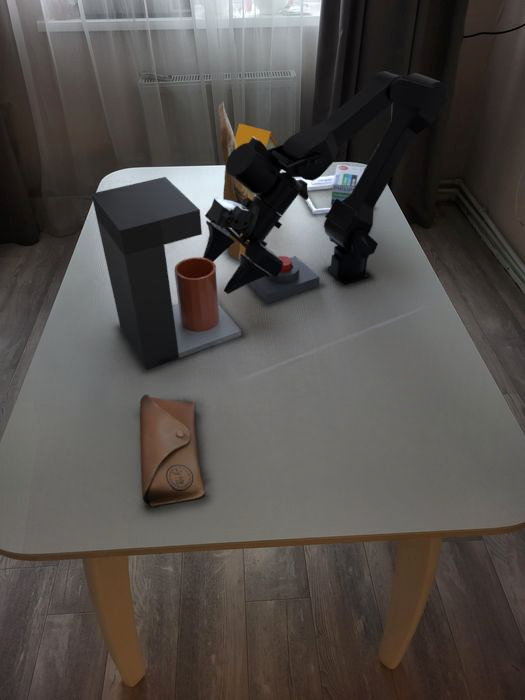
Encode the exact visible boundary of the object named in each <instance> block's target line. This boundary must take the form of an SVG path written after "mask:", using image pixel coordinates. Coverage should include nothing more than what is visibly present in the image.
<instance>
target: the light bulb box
mask: <svg viewBox="0 0 525 700" xmlns="http://www.w3.org/2000/svg"><path fill="white" fill-rule="evenodd" d="M365 168H366V167H363V166H353V165H344V164H337V165H336V168H335V172H334V175H335V176H334V175H333V176H334V180H333V186H332V188H331V200H330V208H331V207H332V205H333V202H334V201H335V200H336V199H339V200H340V201H342V200H344V199H345V198H347V197H348V196H350V195H351V193H352V191H353V190H354V188H355V186H356V184H357V183H358V181H359V179H360V177H361V175H362V174H363V172H364V170H365Z"/></svg>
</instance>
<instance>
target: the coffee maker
mask: <svg viewBox="0 0 525 700" xmlns="http://www.w3.org/2000/svg"><path fill="white" fill-rule="evenodd" d="M91 198H92V203H93V207H94V212H95V217H96V221H97V225H98V230H99V231H98V232H99V235H100V239H101V244H102V249H103V253H104V254H103V255H104V259H105V263H106V268H107V273H108V277H109V281H110V286H111V291H112V295H113V299H114V304H115V309H116V312H117V313H116V314H117V318H118V322H119V327H120V329H121V331H122V333H123V334H124V336H125V338H126V339H127V341H128V343H129V345H130V346H131V347H132V349H133V351H134V352H135V354H136V356H137V357H138V360H139V362H141V364H142V366H143V368H144V369H145V371H148V370H151V369H154V368H156V367H158V366H161V365H164V364H167V363H170V362H172V361H176V360H178V359H181V358H183V357H186V356H189V355H192V354H195V353H198V352H200V351H203V350H206V349H208V348H211V347H213V346H216V345H219V344H222V343H225V342H228V341H230V340H233V339H235V338H240V337H241V336H242V330H241V329H240V327H239V326H238V325H237V324H236V322H234V320H233V319H232V318H231V317H230V316H229V315H228V314H227V312H226V311H225V310H224V309H223V308H222V307H221V306H220V304H219V322H218V324H217V325H216V326H215V327H213V328H212V329H209V330H206V331H200V332H197V331H191V330H188V329H186V328H185V327H184V326H183V325H182V323H181V320H180V312H179V304H178V303H176V304H173V300H172V299H173V298H172V293H171V284H170V277H169V270H168V262H167V255H166V248H165V245H169V244H172V243H176V242H179V241H184V240H187V239H190V238H193V237H197V236H201V235H203V230H202V229H203V228H202V220H201V219H202V217H201V209H200V208H199V207H198V206H197V205H196V204H195V203H194V202H192V201H191V200H190V199H189V198H188V197H187V196H186V195H185V194H184V193H183V192H182V191H181V190H180V189H179V188H178V187H177V186H175V184H173V182H172V181H171V180H170V179H168V178H167V177H166V176H162V177H158V178H154V179H150V180H144V181H141V182H136V183H132V184H128V185H123V186H119V187H114V188H110V189H105V190H101V191H96V192H92V193H91Z"/></svg>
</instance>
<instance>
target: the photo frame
mask: <svg viewBox="0 0 525 700" xmlns="http://www.w3.org/2000/svg"><path fill="white" fill-rule="evenodd" d="M334 176H335V174H334V175H324V176H320V177H319V178H317V179H316V180H313V181H311V180H305V179H303V178H302V177H301V179H302V180H303V181H305V182H306V183H307V184H308V185H307V191H317V190H328V189H332V186H333V180H334ZM295 179H296V180H298V179H299V178H295ZM305 202H306V203H307V205H308V207H309V209H310V210H311V212H312V214H313V215H318V214H319V215H320V214H328V212H329V211H330V209H331V207H323V208H316V207H315V205H314V203H313V202H312V200H311V199H310V197H309V196H308V199H307V200H305Z"/></svg>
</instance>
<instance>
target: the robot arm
mask: <svg viewBox="0 0 525 700" xmlns="http://www.w3.org/2000/svg"><path fill="white" fill-rule="evenodd" d="M447 102H448V89H447V86H446V84H445V83H444V82H442V81H440V80H437V79H434V78H431V77H429V76H427V75H423V74H420V73H418V72H414V73H410V74H409V75H406V76H403V75H399V74H395V73H392V72H389V71H386V70H385V71H384V70H383V71H379V72H378V73H376V74H375V75H374V76H373V78H372V80H371V81H370V82H369V83H368V84H366V86H364V87H363V88H362V89H361V90H360V91H358V92H357V93H356V94H354V96H352V97H350V99H349V100H348V101H346V102H345V103H344V104H343V105H341V106H340V107H339V108H338V109H337V110H336V111H335V112H333V113H332V114H330V115H329V116H328V117H326V119H325V120H324V121H322V122H320V123H318V124H315V125H312V126H308V127H304V128H303V129H301V130H299V131H297V132H296V133H295V134H292V135H291V136H289V137H288V138H287V139H286V140H285V141H284V142H283V143H280V144H277V146H275V147H273V148H270V149H268V150H267V149H266V147H265V145H264V144H263V143H262V142H261V141H259V140H258V139H256V138H255V137H252V139H251V140H250V141H249V143H244V144H242V145H240V146H239V147H237V148H236V149H234V150H233V151H232V152H231V154H230V156H229V158H228V160H227V164H226V169H227V172H228V174H229V175H231V176H232V177H233V178H234V179H236V180H237V181H238V182H240V183H241V184H242V185H243V186H245V187H246V188H247V189H248V190H250V191H251V192H252V193H256V196H254V197H253V199H252V200H251V199H249V198H248V197H247V198H245V199H244V200H243V201H242V202H241V203H240V204H239V203H236V202H233V201H229V200H224V199H223V198H219V197H214V198H213V201H212V204H211V206H210V208H209V209H208V210H207V212H206V214H205V215H204V217H205V218H206V219H208V220H206V222H205V224H206V225H207V229H208V239H207V242H206V246H205V249H204V253H203V256H202V258H206V259H209V260H211V261H213V262H215V261H216V260H217V259H218V258H219V257H220V256H221V255H223V253H225V252H226V251H228V248H229V247H230V246H231V245H232V244H233V243H234V242H235V241H234V240H233V239H232V238H231V237H230V236H229V235H230V234H231V235H232V236H233V237H234V238H235V239H236V240H237V241H239V242H240V243H241V244H242V245H243V246H244V247H245V248H246V249H245V255H246V256H244V255H242V254H240V260H239V265H238V267H237V269H236V270H235V271H234V272H233V274H232V276H231V277H230V279H229V280H228V282H227V284H226V285H225V287H224V289H223V291H224V293H226V294H227V295H228V294H231V293H233V292H235V291H236V290H239V289H241V288H243V287H245V286H247V285H248V284H249V283H251V282H253V281H255V280H258V279H260V278H263V277H265V276H267V277H268V278H269V277H270V276H271V275H270V274H272V275H273V276H275V277H277V275H278V274H279V273H280V271H281V270H282V269H283V261H282V260H281V259H280V258H279V257H278V255H276V253H274V252H273V251H272V250H270V249H269V248H268V247H267V245H268V243H267V242H266V241H265V240H266V239H267V237H268V236H269V234H270V233H271V232H272V230H273V229H274V228H276V229H278V230H279V229H280V228H281V227H282V226H283V224H282V222H280V220H281V219H282V216H284V215H285V213H286V211H287V210H288V209H289V208H290V206H291V205H292V204H293V202H294V201H295V200H296V198H297V197H298V196H299V197H300V198H302V199H303V200H305V201H306V200H307V199H308V197H309V192H308V191H309V190H308V191H307V185H308V184H307V183H306V182H305V181H303V180H302V178H303V179H305V180H311V181H313V180H316V179H317V178H319V177H322V176H323V174H324V173H325V172H326V171H327V170H328V169H329V168H330V167H331V166H332V164H333V163H335V160H336V158H337V155H338V152H339V150H340V149H341V148H342V147H343V146H344V145H345V144H346V143H347V142H349V141H350V140H351V139H352V138H353V137H354V136H355V135H356V134H358V133H359V132H360V131H361V130H362V129H364V128H365V127H366V126H367V125H369V124H370V123H371V122H372V121H374V119H375V118H377V117H378V116H379V115H381V113H383V112H384V111H385V110H387V109H388V108H389V107H390V106H391V120H390V123H389V125H388V127H387V128H386V130H385V132H384V133H383V136H382V137H381V140H380V141H379V142H378V145H377V147H376V148H375V150H374V152H373V154H372V156H371V157H370V159H369V161H368V162H367V165H366V166H365V167H364V168H365V170H364V172H363V174H362V175H361V177H360V179H359V181H358V183H357V184H356V186H355V188H354V190H353V191H352V193H351V195H350V196H348V197H347V198H345V199H344V200H342V201H340V200H339V199H336V200H335V201H334V202H333V205H332V207H331V206H330V208H331V209H330V211H329V212H328V213H326V214H325V216H324V218H325V221H324V224H323V228H324V233H325V234H326V236H327V237H328V238H329V241H330V242H332V243H334V246H333V247H334V248H333V254H332V255H331V263H330V266H328V267H327V271H328V272H330V273H331V274H332V275H333V276H334V277H335V278H336V279H337V280H338V281H339V282H341V284H343V285H349V284H351V283H354V282H358V281H361V280H364V279H368V278H370V277H371V273H370V272H369V271H368V270H367V264H368V259H369V256H370V255H374V254H375V253H376V250H377V247H378V245H379V243H378V242H377V241H376V240H375V239H374V238H373V237H372V236H370V232H371V230H372V228H373V226H374V208H375V206H376V204H377V203H378V201H379V199H380V198H381V196H382V194H383V192H384V190H385V189H386V187H387V186H388V184H389V182H390V180H391V179H392V178H393V175H394V173H395V171H396V170H397V168H398V166H399V164H400V163H401V161H402V160H403V157H404V156H405V154H406V153H407V151H408V150H409V148H410V145H411V144H412V142H413V141H414V139H415V138H416V135H419V133H421V132H422V131H424V130H426V129H427V128H428V127H430V126H431V125H432V124H433V123H434V122H435V120H436V119H437V118H438V116H439V115H440V113H441V112H442V111H443V109H444V108H445V107H446V104H447ZM281 171H282V172H281ZM296 179H298V180H296ZM257 196H258V197H259V198H260V199H259V198H258V197H257ZM241 233H242V234H243V235H242V236H240V234H241ZM248 240H249V241H248ZM246 242H247V243H248V244H247V243H246ZM269 273H270V274H269Z"/></svg>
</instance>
